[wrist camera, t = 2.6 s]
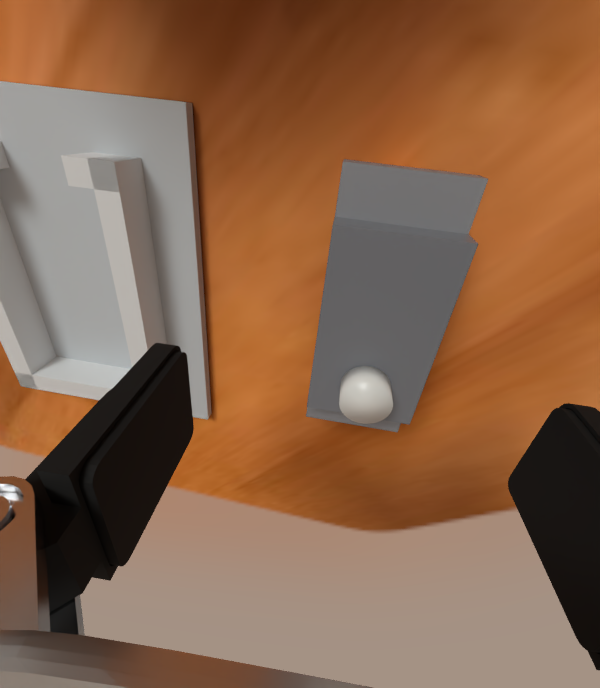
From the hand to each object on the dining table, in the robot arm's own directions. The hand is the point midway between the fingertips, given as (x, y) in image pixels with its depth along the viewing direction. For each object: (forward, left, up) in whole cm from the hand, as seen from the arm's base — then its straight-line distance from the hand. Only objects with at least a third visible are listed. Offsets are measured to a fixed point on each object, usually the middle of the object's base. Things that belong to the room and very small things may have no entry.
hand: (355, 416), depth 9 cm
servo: (-1, -1, -8) cm, 8 cm away
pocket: (+13, +1, -8) cm, 16 cm away
